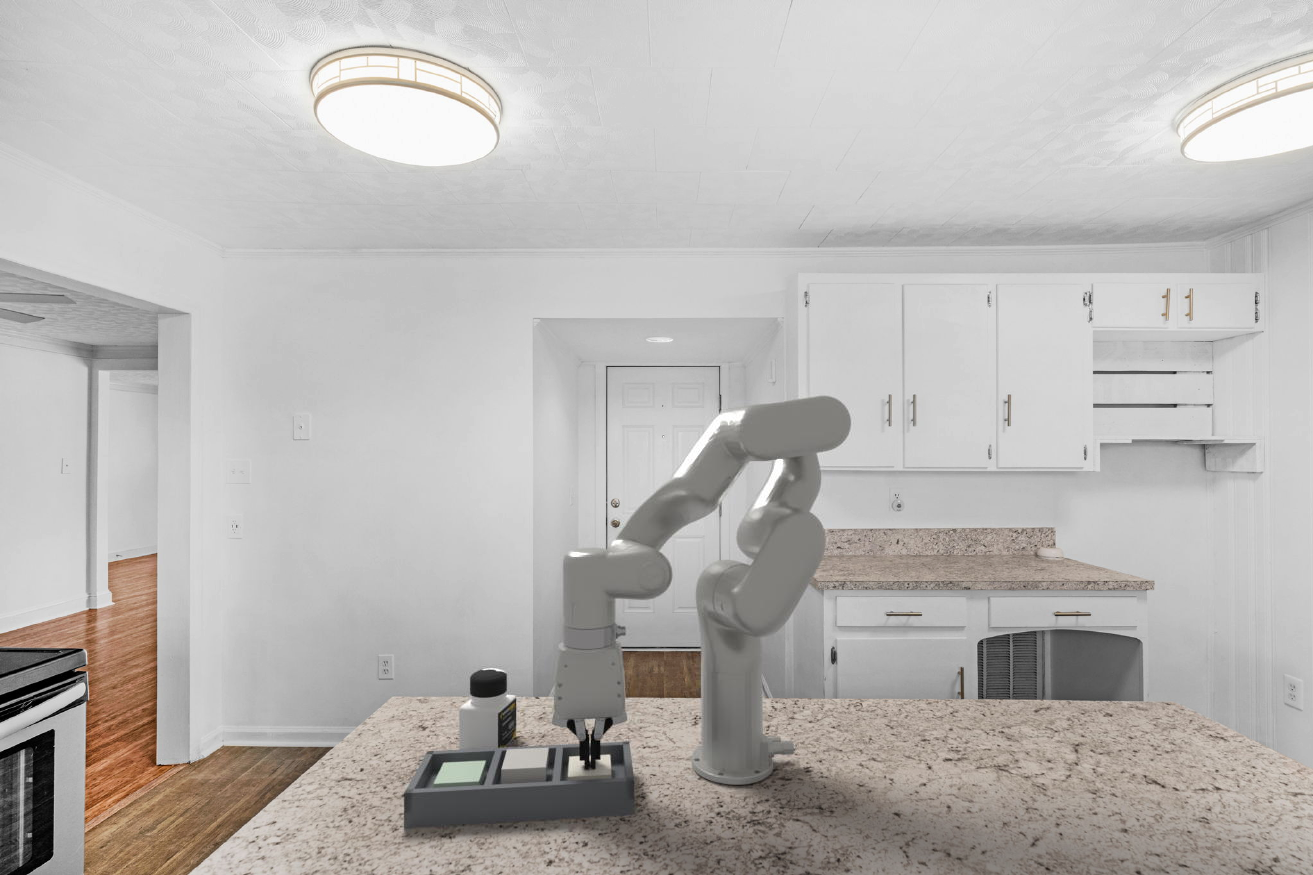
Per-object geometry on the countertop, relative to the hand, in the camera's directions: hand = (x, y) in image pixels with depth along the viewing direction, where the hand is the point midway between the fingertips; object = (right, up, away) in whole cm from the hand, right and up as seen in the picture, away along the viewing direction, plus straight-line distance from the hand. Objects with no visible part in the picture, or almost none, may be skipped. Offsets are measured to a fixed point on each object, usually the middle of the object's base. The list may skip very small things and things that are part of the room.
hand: (590, 764), depth 92 cm
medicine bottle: (-19, -5, +16) cm, 25 cm away
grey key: (-9, -1, -1) cm, 9 cm away
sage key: (-18, -2, -2) cm, 18 cm away
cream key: (0, -2, 0) cm, 2 cm away
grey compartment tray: (-9, -4, -1) cm, 10 cm away
